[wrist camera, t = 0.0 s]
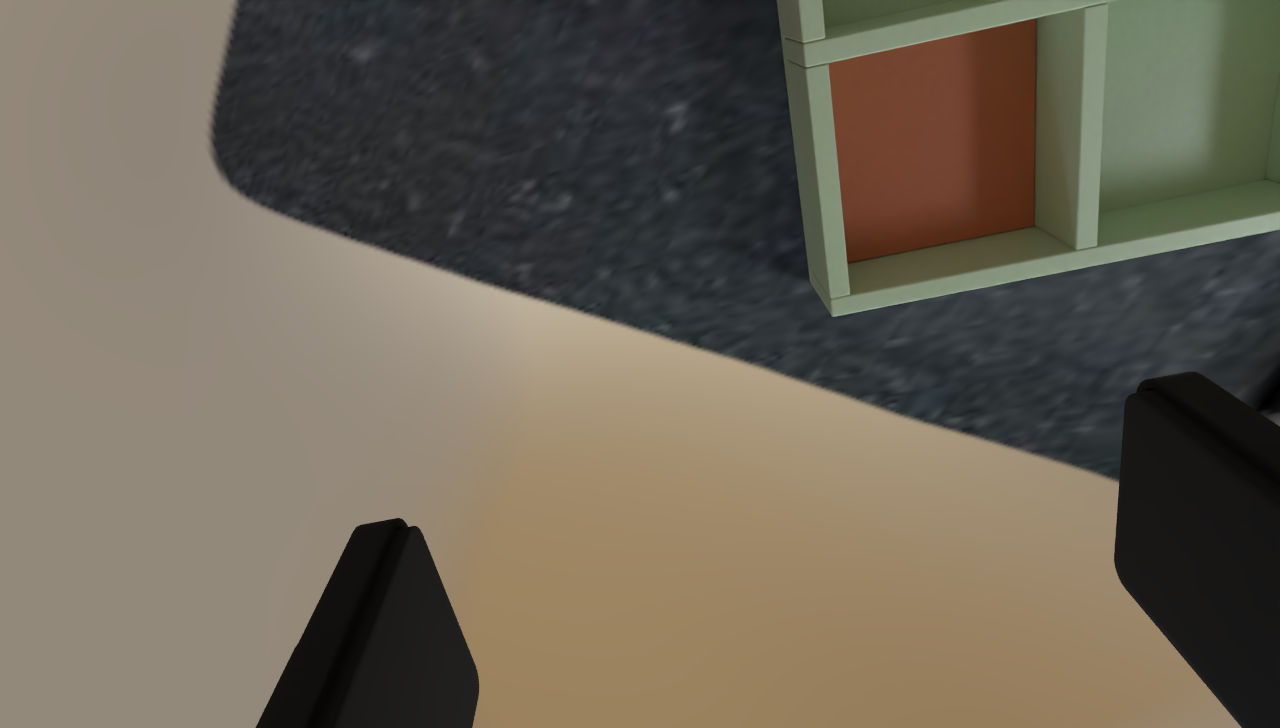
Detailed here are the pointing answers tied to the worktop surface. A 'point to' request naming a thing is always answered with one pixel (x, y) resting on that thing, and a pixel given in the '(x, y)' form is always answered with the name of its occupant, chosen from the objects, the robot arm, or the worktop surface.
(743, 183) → the worktop surface
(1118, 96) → the grid
